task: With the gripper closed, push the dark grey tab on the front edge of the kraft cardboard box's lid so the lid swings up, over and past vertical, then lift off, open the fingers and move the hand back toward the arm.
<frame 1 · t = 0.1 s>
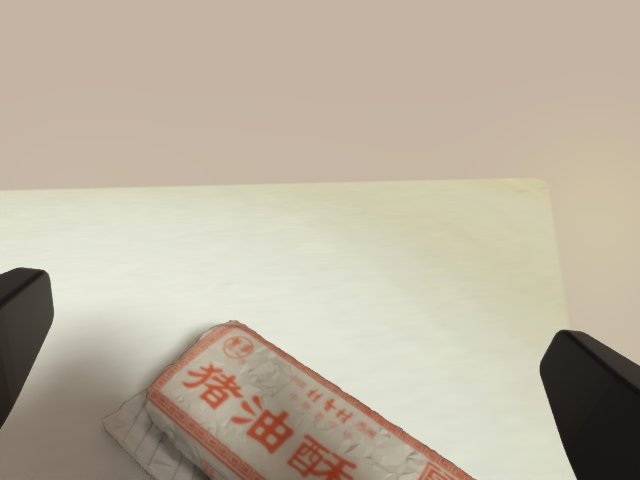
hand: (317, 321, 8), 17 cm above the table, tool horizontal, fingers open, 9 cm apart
packaged product: (291, 478, 24), on the table
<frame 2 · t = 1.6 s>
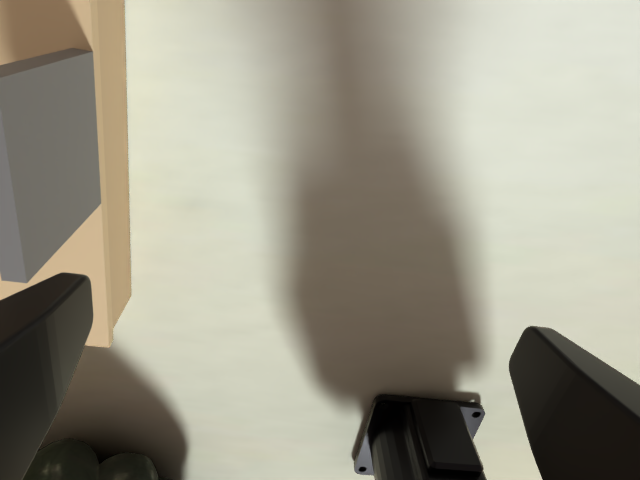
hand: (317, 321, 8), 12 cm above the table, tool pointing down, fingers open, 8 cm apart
cardboard box: (18, 90, 17), on the table
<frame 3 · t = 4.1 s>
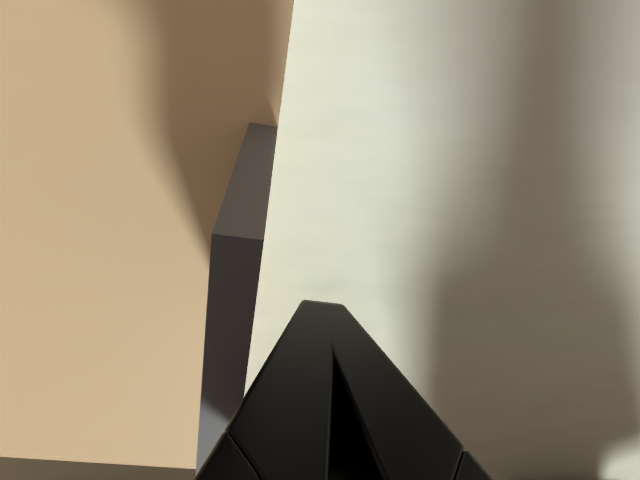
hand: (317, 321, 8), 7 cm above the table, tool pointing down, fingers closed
lid: (34, 258, 8), point 6 cm above the table, hinge at 0.0°, touching gripper
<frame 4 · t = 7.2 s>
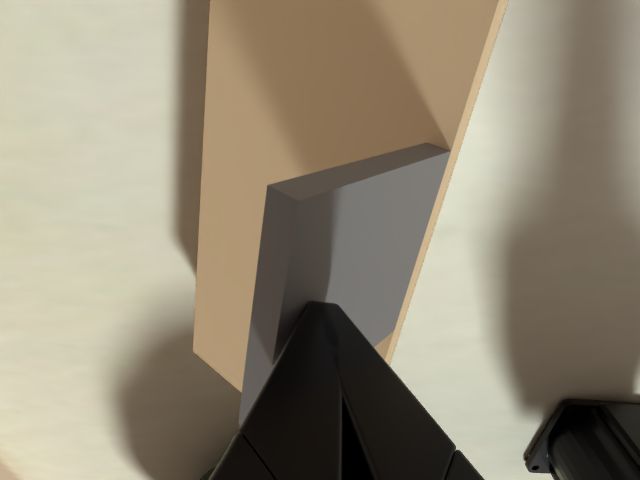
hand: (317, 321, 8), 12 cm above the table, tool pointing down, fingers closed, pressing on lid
lid: (234, 206, 11), point 8 cm above the table, hinge at 43.5°, touching gripper
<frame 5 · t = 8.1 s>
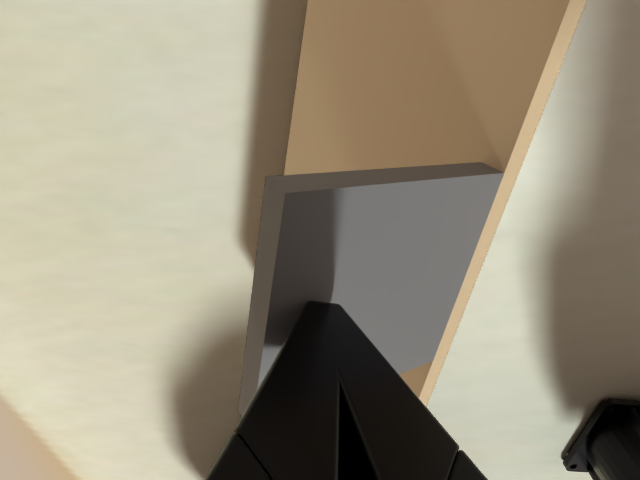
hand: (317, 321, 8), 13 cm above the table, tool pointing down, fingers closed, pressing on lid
lid: (288, 208, 12), point 8 cm above the table, hinge at 60.9°, touching gripper
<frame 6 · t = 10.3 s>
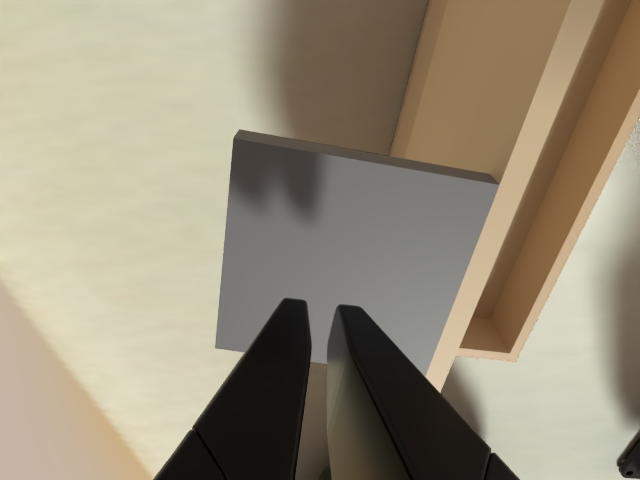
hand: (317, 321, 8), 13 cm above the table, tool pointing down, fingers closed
cardboard box: (479, 155, 20), on the table
lid: (347, 199, 13), point 7 cm above the table, hinge at 93.5°
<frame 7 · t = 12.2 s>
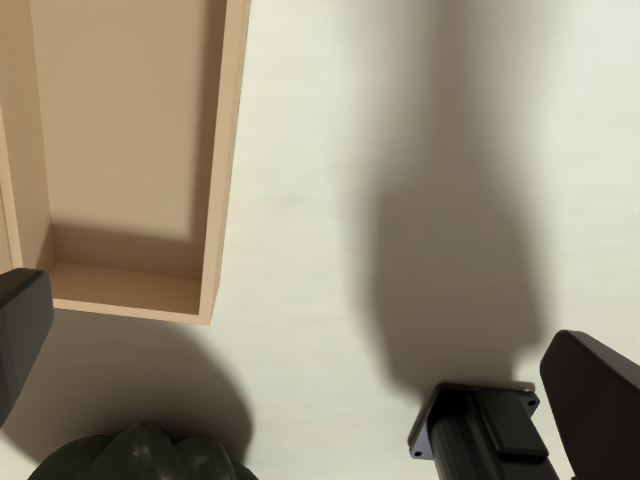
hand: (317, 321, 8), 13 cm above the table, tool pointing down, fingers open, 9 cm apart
cardboard box: (136, 88, 18), on the table
squash: (159, 464, 30), on the table
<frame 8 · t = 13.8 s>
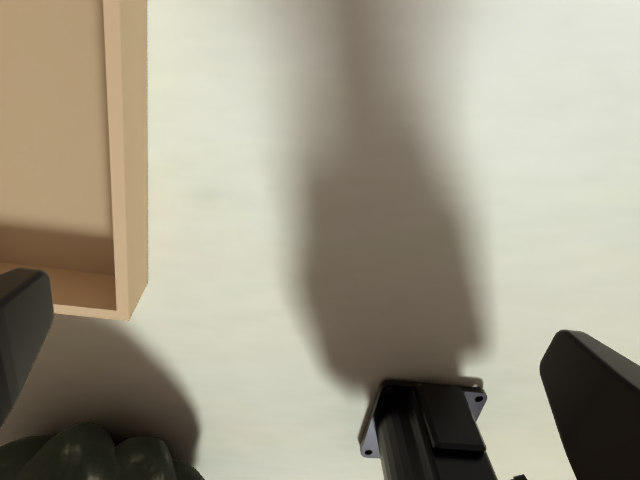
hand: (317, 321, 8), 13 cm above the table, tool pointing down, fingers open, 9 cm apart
cardboard box: (43, 84, 18), on the table
squash: (110, 465, 30), on the table
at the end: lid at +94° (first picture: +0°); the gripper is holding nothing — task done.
